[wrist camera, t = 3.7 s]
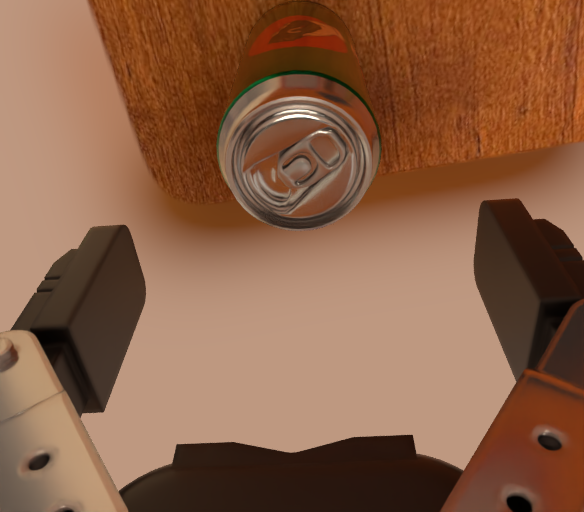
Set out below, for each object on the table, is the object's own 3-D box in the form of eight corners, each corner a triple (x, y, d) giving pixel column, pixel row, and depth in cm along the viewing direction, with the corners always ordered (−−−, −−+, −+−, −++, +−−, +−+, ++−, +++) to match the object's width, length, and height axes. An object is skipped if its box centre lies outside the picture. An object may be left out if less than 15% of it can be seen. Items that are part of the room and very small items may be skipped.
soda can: (223, 47, 26) (175, 156, 16) (309, -28, 24) (314, 41, 14) (291, 129, 28) (286, 268, 18) (375, 65, 26) (420, 181, 16)
